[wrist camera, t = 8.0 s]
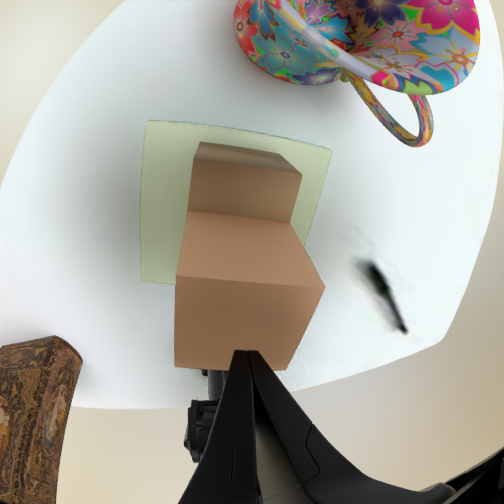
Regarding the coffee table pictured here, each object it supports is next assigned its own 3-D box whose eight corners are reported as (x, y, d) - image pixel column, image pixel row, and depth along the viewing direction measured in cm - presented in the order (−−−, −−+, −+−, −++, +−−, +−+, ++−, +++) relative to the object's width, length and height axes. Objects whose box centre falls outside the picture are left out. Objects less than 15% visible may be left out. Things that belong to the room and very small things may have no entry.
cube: (290, 223, 13) (325, 287, 9) (267, 300, 16) (285, 370, 12) (188, 210, 12) (175, 274, 8) (181, 293, 15) (174, 366, 11)
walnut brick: (249, 281, 21) (258, 328, 17) (185, 275, 20) (180, 323, 16) (279, 153, 16) (302, 175, 12) (199, 141, 15) (193, 157, 11)
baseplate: (286, 287, 23) (288, 293, 22) (143, 275, 21) (141, 280, 20) (328, 148, 17) (332, 151, 17) (149, 120, 15) (146, 121, 14)
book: (60, 333, 23) (17, 539, 2) (88, 363, 26) (64, 551, 5) (0, 346, 24) (-41, 484, 3) (23, 369, 27) (-8, 502, 6)
